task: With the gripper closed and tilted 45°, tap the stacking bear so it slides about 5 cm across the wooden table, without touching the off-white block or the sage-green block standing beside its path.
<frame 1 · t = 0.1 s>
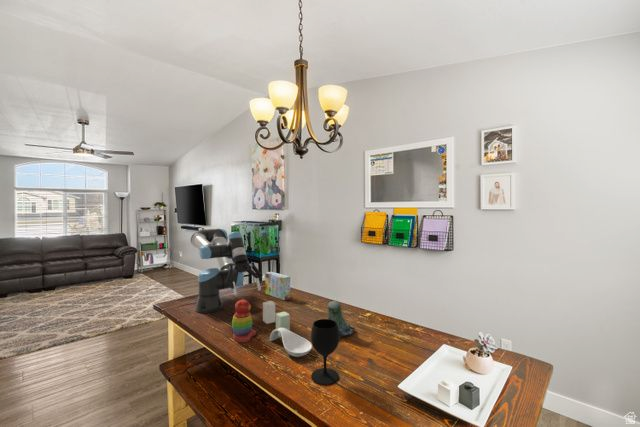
hand: (248, 292, 161), 15 cm above the table, tool tilted 35°, fingers open, 13 cm apart
spoon rest: (289, 349, 130), on the table
tree stump: (336, 331, 148), on the table
sage-green block: (282, 334, 144), on the table
off-white block: (269, 321, 160), on the table
snack box: (277, 296, 201), on the table
wine glass: (325, 377, 109), on the table
stacking bear: (243, 337, 141), on the table
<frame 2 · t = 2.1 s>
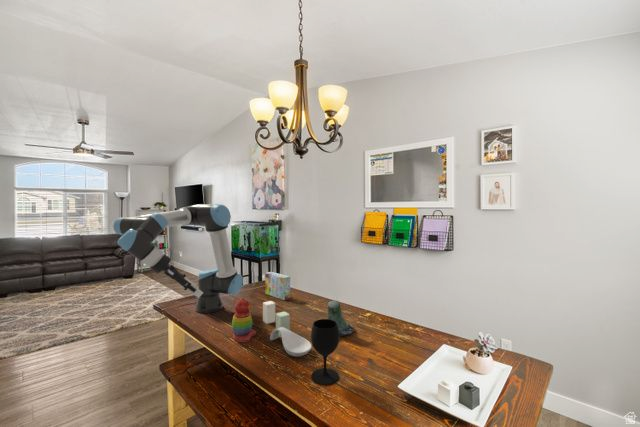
hand: (197, 291, 129), 25 cm above the table, tool tilted 45°, fingers open, 11 cm apart
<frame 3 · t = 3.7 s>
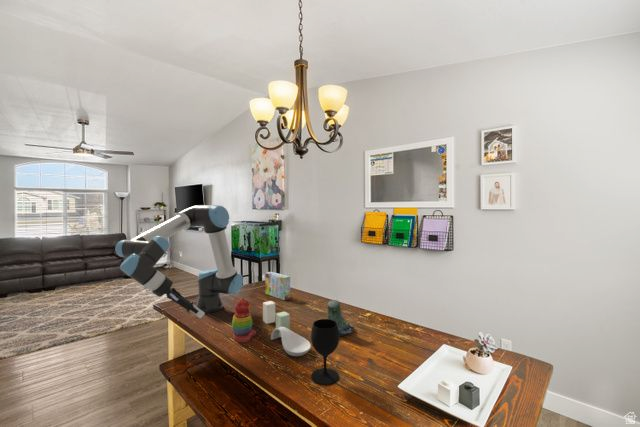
hand: (202, 315, 130), 14 cm above the table, tool tilted 45°, fingers closed
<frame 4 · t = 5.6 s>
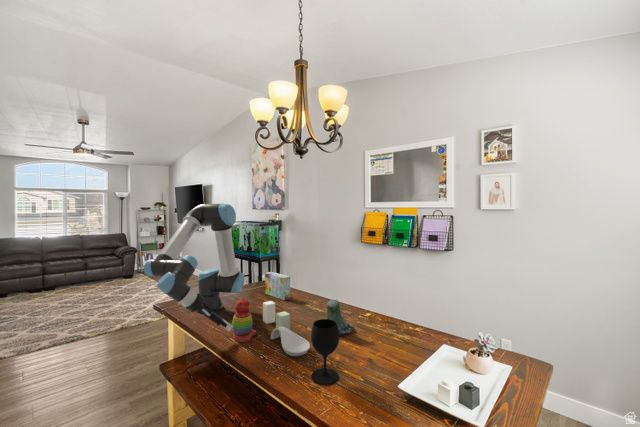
hand: (230, 328, 137), 5 cm above the table, tool tilted 45°, fingers closed
stacking bear: (243, 337, 141), on the table, touching gripper
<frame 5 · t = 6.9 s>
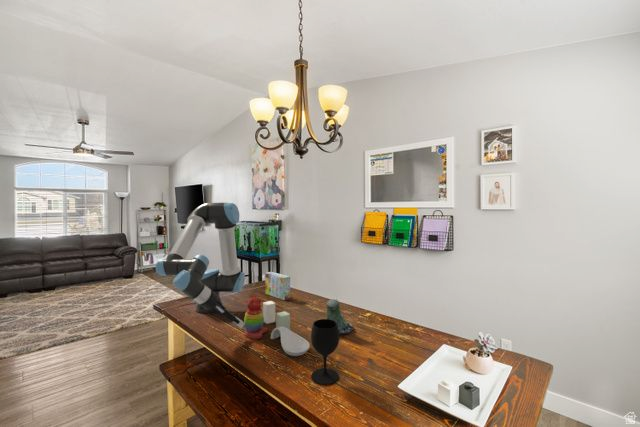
hand: (242, 325, 141), 6 cm above the table, tool tilted 45°, fingers closed
stacking bear: (254, 333, 145), on the table, touching gripper
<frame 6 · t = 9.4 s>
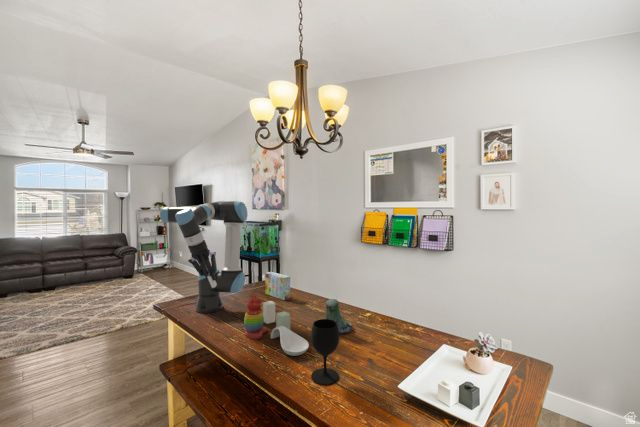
hand: (214, 286, 142), 24 cm above the table, tool tilted 20°, fingers closed
stacking bear: (254, 333, 145), on the table
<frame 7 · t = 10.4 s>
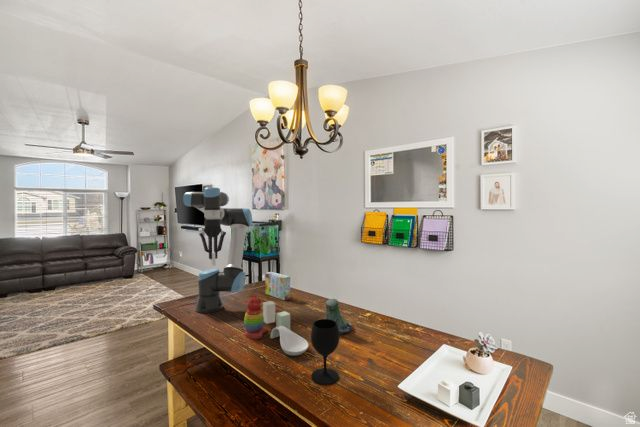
hand: (213, 265, 149), 32 cm above the table, tool pointing down, fingers closed
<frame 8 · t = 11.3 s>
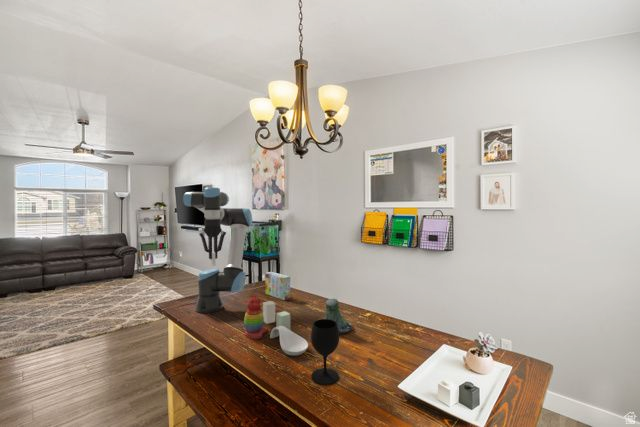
hand: (213, 265, 149), 32 cm above the table, tool pointing down, fingers closed
at the end: stacking bear inside the target area (0.2 cm from its centre), on the table; off-white block moved 0.0 cm from its start; sage-green block moved 0.5 cm from its start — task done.
